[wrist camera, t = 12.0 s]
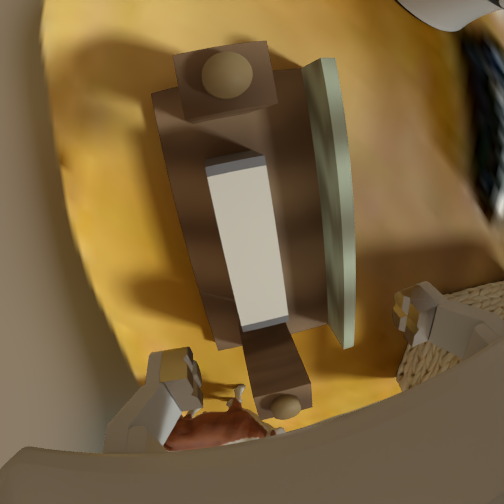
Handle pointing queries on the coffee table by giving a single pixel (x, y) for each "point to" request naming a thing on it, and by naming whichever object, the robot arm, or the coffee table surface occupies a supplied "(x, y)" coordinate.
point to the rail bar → (248, 237)
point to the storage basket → (435, 358)
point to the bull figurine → (219, 427)
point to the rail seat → (282, 193)
